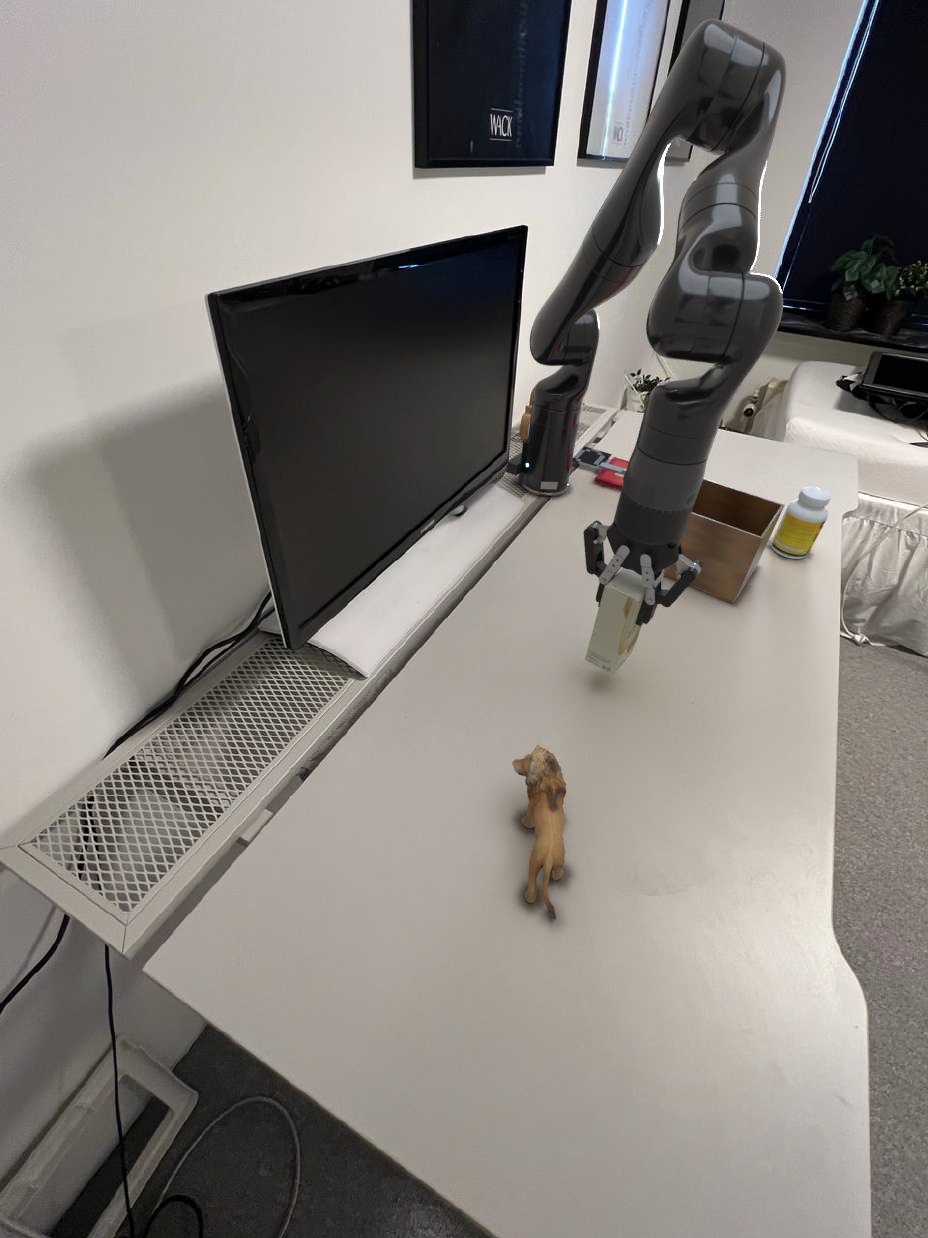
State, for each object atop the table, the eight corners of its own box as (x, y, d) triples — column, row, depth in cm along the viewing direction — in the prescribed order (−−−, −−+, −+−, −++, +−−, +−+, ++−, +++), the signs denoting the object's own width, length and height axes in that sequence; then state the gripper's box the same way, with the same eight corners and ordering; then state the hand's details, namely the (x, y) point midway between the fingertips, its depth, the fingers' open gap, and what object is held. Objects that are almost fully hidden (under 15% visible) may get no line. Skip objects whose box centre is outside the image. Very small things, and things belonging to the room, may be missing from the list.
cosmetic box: (613, 676, 75) (637, 602, 67) (583, 660, 77) (602, 586, 68) (635, 649, 79) (660, 576, 71) (605, 634, 81) (626, 561, 72)
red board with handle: (586, 446, 135) (560, 473, 126) (589, 435, 133) (562, 461, 124) (719, 486, 125) (702, 518, 115) (724, 474, 123) (706, 505, 113)
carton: (652, 570, 100) (672, 506, 92) (679, 538, 109) (700, 477, 100) (733, 604, 95) (762, 538, 87) (756, 567, 103) (784, 504, 95)
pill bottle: (802, 565, 104) (832, 507, 96) (765, 551, 107) (791, 493, 99) (811, 549, 108) (841, 492, 100) (775, 536, 111) (801, 479, 103)
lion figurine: (504, 789, 67) (512, 739, 61) (550, 786, 68) (563, 737, 62) (527, 924, 56) (540, 880, 50) (582, 920, 57) (601, 875, 51)
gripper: (739, 499, 61) (688, 622, 72) (613, 455, 67) (584, 576, 78) (715, 529, 56) (665, 656, 68) (581, 480, 62) (556, 604, 74)
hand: (622, 612), depth 73 cm, fingers closed on cosmetic box, 4 cm apart
